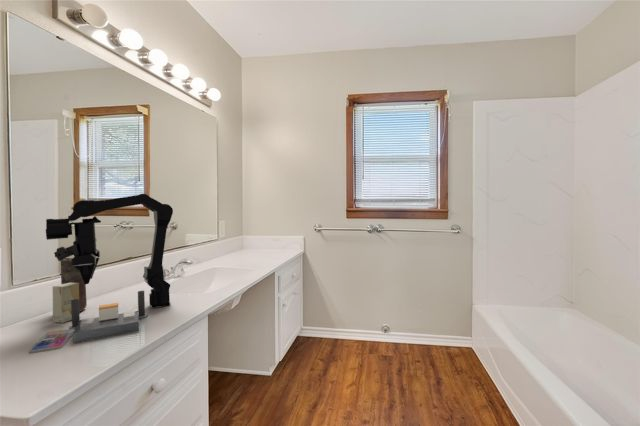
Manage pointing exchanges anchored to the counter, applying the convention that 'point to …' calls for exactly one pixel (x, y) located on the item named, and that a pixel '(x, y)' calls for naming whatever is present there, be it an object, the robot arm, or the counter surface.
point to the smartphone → (53, 341)
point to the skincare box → (64, 301)
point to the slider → (108, 311)
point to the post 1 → (75, 313)
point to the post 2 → (141, 305)
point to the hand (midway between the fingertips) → (88, 281)
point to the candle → (73, 280)
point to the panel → (106, 327)
